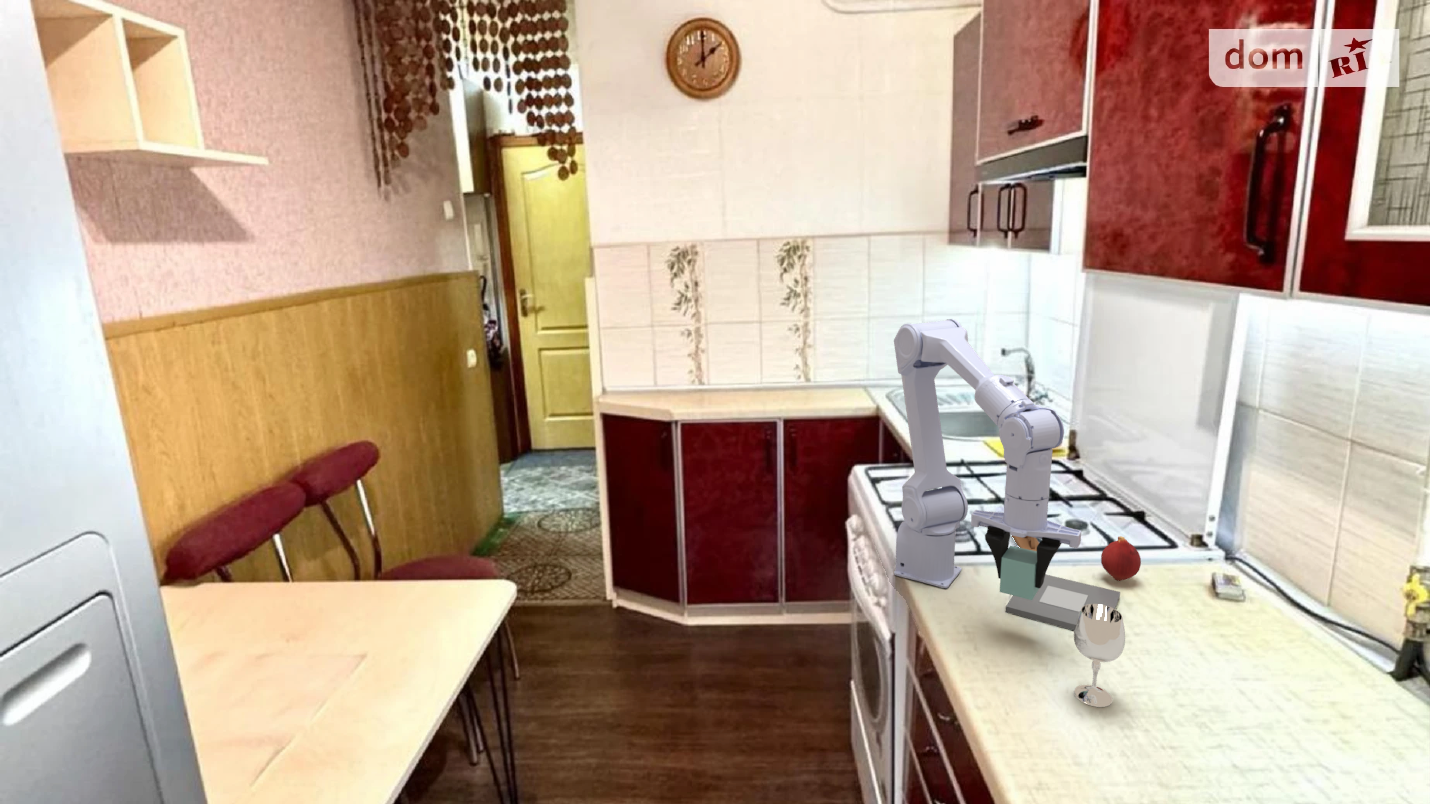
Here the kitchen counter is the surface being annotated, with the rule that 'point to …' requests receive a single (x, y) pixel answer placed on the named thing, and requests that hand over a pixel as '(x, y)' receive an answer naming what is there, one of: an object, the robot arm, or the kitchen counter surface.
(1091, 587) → the tile
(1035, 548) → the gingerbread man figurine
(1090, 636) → the wineglass
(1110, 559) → the onion
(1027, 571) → the block
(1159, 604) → the kitchen counter surface
